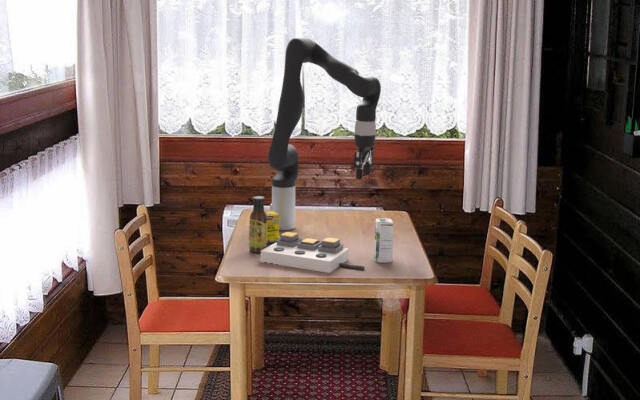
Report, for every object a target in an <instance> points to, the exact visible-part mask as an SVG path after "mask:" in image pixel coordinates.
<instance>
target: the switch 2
mask: <svg viewBox="0 0 640 400" xmlns="http://www.w3.org/2000/svg"><path fill="white" fill-rule="evenodd" d="M304 239H305V240H304ZM304 239H302V241H301V244H306V245H313V246H314V245H316V244H317V243H319V241H320V240H319V239H314V238H309V237H308V238H304Z"/></svg>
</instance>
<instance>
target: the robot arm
mask: <svg viewBox="0 0 640 400" xmlns="http://www.w3.org/2000/svg"><path fill="white" fill-rule="evenodd" d="M284 55H285V56H284V58H285V59H284V72H283V79H282V85H281V92H280V97H279V101H278V102H279V103H278V108H277V116H276V119H275V126H274V131H273V135H272V139H271V143H270V146H269V149H268V154H267V161H268V164H269V166H270V167H271V168H272V169H273V170H276V171H277V172H276V174H275V175H274V176H273V177H272V178H271V203H270V204H269V212H271V211H273V212H275V213H277V214H279V231H291V230H294V229H295V228H296V182H297V179H298V173H299V172H298V171H299V154H298V150H297V148H296V146H294V145H292V144H290V140H291V139H290V138H291V136H292V134H293V132H294V130H295V128H296V127H297V125H298V123H299V121H300V120H301V117H302V115H303V109H304V104H305V94H304V89H303V85H302V83H301V82H302V81H301V75H302V74H301V73H302V67H303V64H306V63H310V64H313V65H316V66H318V67H321V69H323V70H324V72H326V73H327V75H328V76H329V77H330V78H331V79H333V80H335V81H336V82H338V83H340V84H341V85H343V86H345V87H346V88H347V89H348V90H349V91H350V92H351V93H352V94H354V95H355V96H357V97H358V98H359V97H360V98H362V101H361V102H360V103H359V104H357V106H356V111H355V112H356V113H355V124H354V140H353V141H354V142H353V144H354V146H355V147H357V148H358V149H357V151H356V150H355V151H354V156H353V159H354V160H353V168H354V169H355V170H356V172H355V179H356V180H363V177H364V176H363V175H365V176H370V175H371V166H372V164H373V163H374V156H375V155H374V154H375V153H374V149H375V146H376V133H377V129H376V127H377V124H376V123H377V122H376V117H377V107H378V104H379V101H380V97H381V90H382V87H381V83H380V80H379V79H378V78H377V77H375V76H362V75H360V74H359V73H360V72H359V71H358V70H357V69H356V68H355V67H353V66H350V65H349V64H347V63H345V62H344V61H342V60H340V59H339V58H337V57H335V55H334V56H333V55H332V54H331V53H329V52H328V51H327V50H326V49H324V47H322V46H321V45H320V44H318V43H317V42H316V41H315V40H313V38H309V37H294V38H291V39H290V40H289V41H288V43H287V45H286V48H285V54H284Z"/></svg>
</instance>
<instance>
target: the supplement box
mask: <svg viewBox="0 0 640 400" xmlns="http://www.w3.org/2000/svg"><path fill="white" fill-rule="evenodd" d="M265 213H266V215H267V245H269V244H270V243H271V244H274V243H276V242H277V240H279V239H280V230H279V214H277V213H275V212H273V211H271V212H270V211H265ZM271 244H270V245H271Z"/></svg>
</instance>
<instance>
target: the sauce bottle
mask: <svg viewBox="0 0 640 400" xmlns="http://www.w3.org/2000/svg"><path fill="white" fill-rule="evenodd" d="M252 201H253V207H252V208H253V210H252V211H251V213H250V215H249V226H248V227H249V230H248V231H249V232H248V236H249V238H248V239H249V242H248V244H249V245H248V246H249V251H250V252H252V253H256V254H257V253H260V252H261V250H263V249H265V248H267V245H268V244H267V215H266V213H265V212H266V211H265V196H261V195H260V196H259V195H258V196H257V195H256V196H253V197H252ZM260 254H261V253H260Z"/></svg>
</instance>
